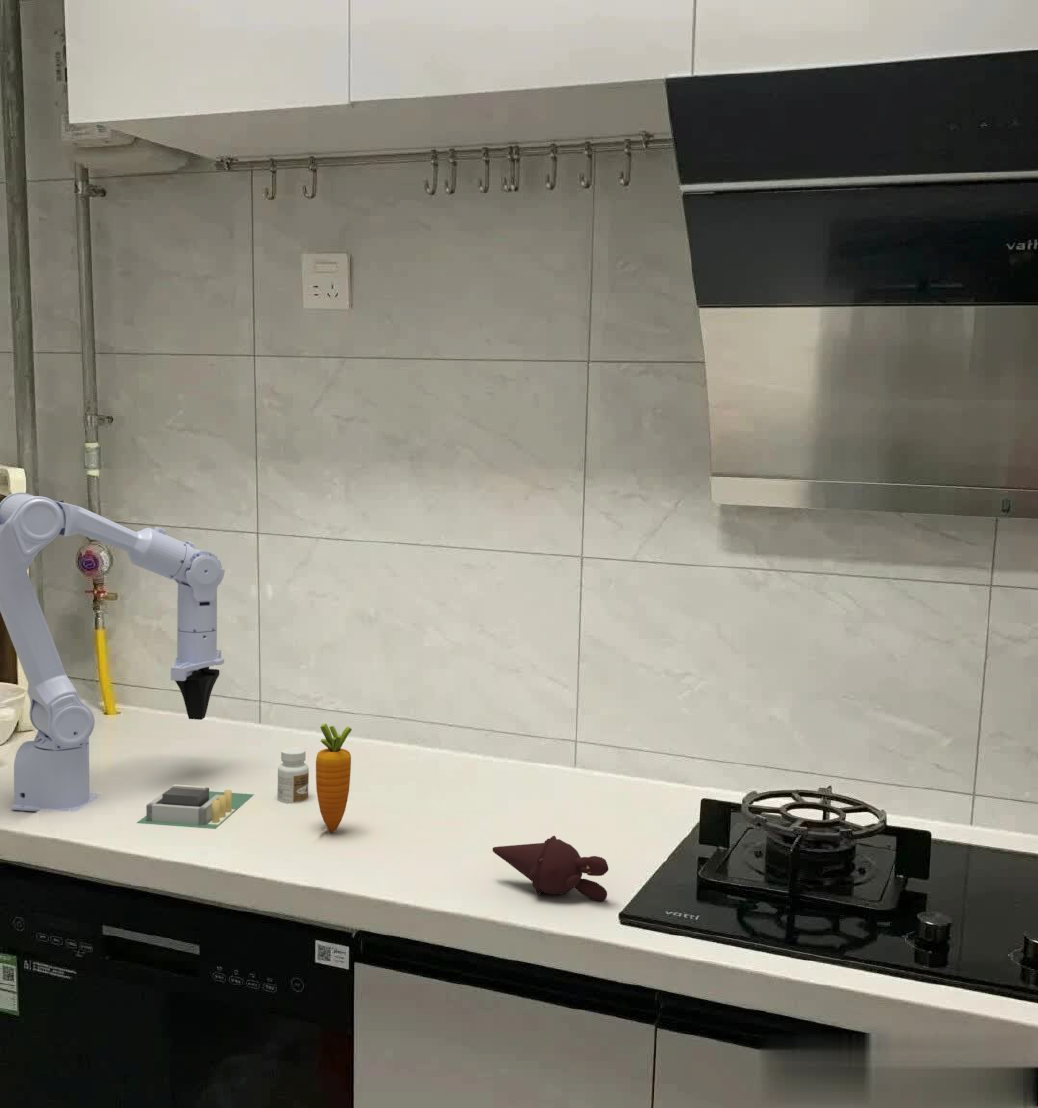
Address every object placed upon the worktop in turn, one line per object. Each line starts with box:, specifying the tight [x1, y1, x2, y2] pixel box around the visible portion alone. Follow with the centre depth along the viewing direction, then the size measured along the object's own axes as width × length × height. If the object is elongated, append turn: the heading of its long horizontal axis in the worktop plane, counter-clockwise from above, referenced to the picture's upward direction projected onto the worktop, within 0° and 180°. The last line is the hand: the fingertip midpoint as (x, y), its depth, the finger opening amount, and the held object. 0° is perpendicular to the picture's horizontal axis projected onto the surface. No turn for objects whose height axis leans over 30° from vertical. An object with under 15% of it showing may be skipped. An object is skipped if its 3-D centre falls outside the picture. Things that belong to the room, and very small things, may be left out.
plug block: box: [162, 784, 210, 807], centre depth 159 cm, size 5×4×4 cm
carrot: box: [315, 723, 352, 834], centre depth 156 cm, size 5×5×15 cm
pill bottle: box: [277, 746, 310, 804], centre depth 168 cm, size 4×4×8 cm
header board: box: [136, 789, 255, 830], centre depth 163 cm, size 11×15×4 cm
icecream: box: [492, 835, 609, 902], centre depth 139 cm, size 7×7×15 cm
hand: (196, 718), depth 175 cm, fingers closed
